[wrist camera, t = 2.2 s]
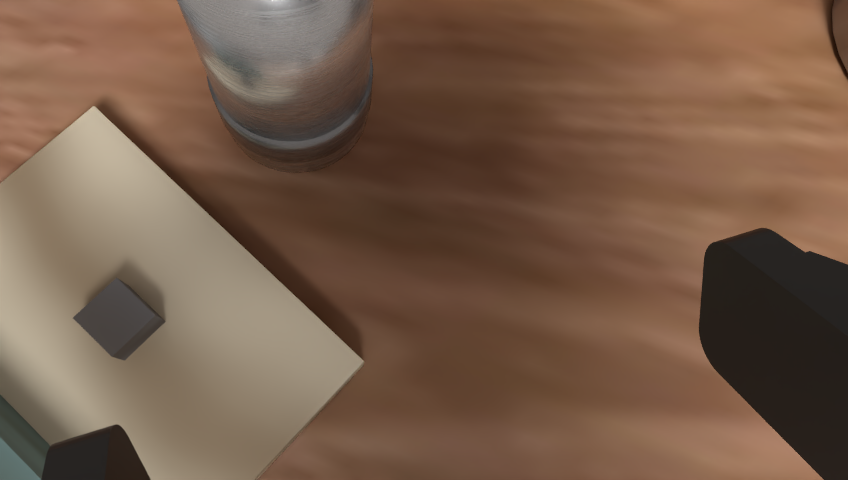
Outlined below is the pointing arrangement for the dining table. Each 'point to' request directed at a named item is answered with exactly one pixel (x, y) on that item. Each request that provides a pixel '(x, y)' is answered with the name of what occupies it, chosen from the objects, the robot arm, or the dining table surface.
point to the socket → (287, 75)
